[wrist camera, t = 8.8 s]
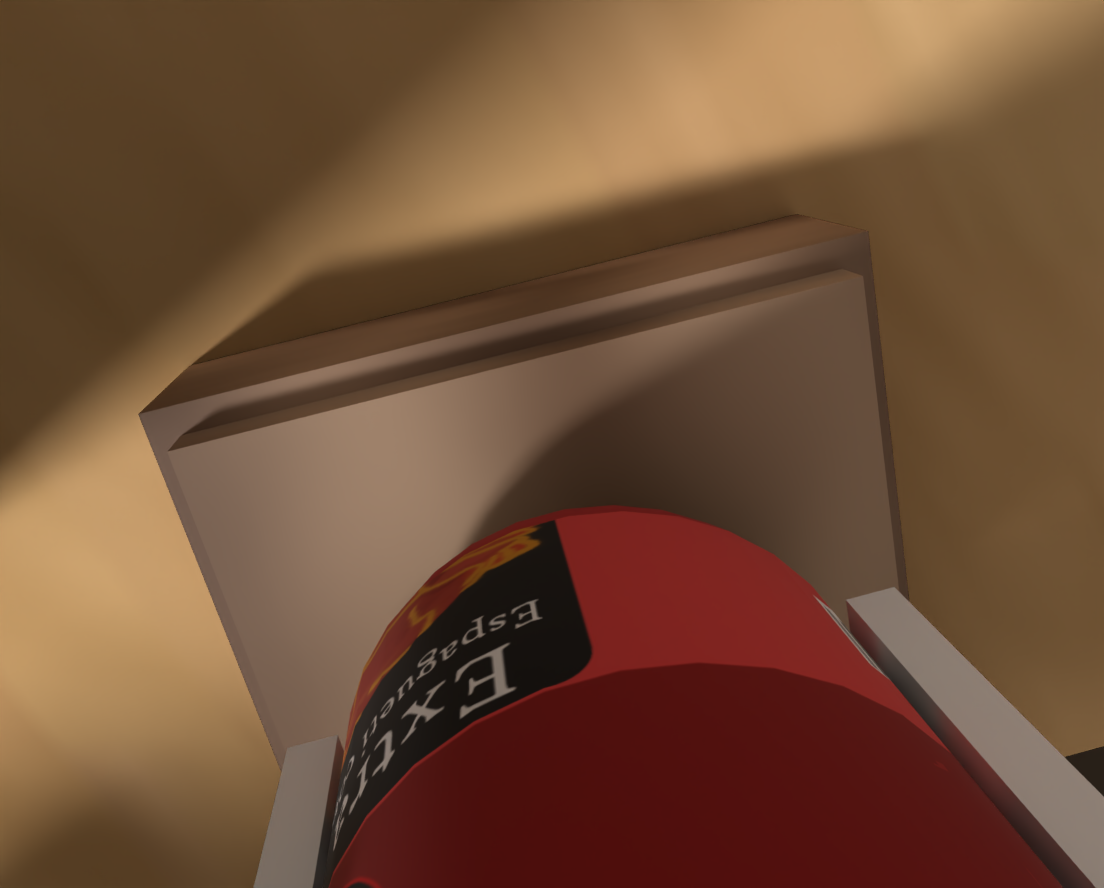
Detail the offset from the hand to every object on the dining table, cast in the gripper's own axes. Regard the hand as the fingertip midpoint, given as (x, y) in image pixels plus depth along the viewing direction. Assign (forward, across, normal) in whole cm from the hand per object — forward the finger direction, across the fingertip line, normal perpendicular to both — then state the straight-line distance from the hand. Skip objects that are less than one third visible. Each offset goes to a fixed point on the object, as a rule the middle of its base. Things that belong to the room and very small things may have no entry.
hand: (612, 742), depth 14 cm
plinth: (+6, 0, 0) cm, 6 cm away
